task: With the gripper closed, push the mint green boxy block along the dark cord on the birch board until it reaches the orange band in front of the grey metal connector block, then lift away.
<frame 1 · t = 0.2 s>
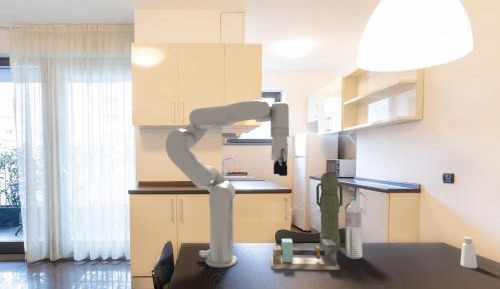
hand: (280, 174, 111), 35 cm above the table, tool pointing down, fingers open, 9 cm apart
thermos: (329, 249, 126), on the table
water bottle: (353, 257, 116), on the table
salt shaker: (468, 266, 107), on the table
mint green boxy block: (287, 250, 108), point 6 cm above the table, slide at 0.0 cm
cord board: (303, 264, 108), on the table
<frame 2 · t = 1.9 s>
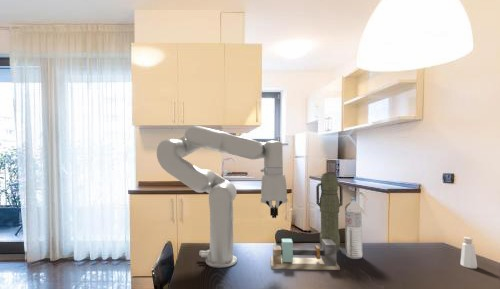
hand: (274, 217, 109), 18 cm above the table, tool pointing down, fingers closed
nothing on the table moved.
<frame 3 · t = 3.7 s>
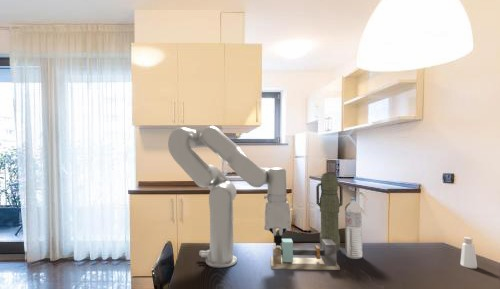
hand: (277, 244, 108), 8 cm above the table, tool pointing down, fingers closed
mint green boxy block: (287, 250, 108), point 6 cm above the table, slide at 0.1 cm, touching gripper
everything else where it was.
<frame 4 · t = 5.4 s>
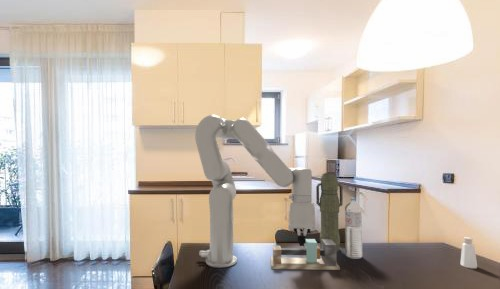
hand: (301, 244, 108), 8 cm above the table, tool pointing down, fingers closed
mint green boxy block: (310, 250, 108), point 6 cm above the table, slide at 9.4 cm, touching cord board, gripper
everything else where it was.
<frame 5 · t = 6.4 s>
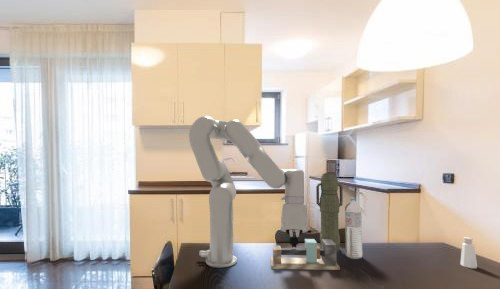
hand: (293, 246, 108), 7 cm above the table, tool pointing down, fingers closed
mint green boxy block: (310, 250, 108), point 6 cm above the table, slide at 9.3 cm
everything else where it was.
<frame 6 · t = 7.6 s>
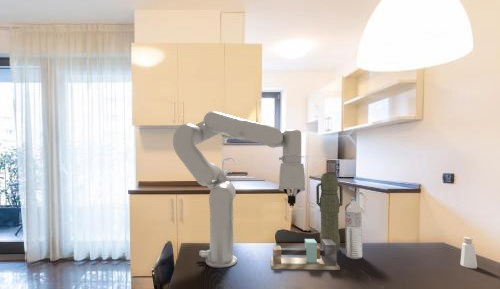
hand: (291, 205, 110), 23 cm above the table, tool pointing down, fingers closed
nothing on the table moved.
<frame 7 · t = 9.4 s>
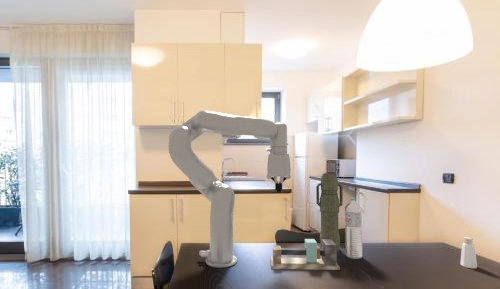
hand: (278, 191, 121), 27 cm above the table, tool pointing down, fingers closed
nothing on the table moved.
at the end: mint green boxy block slide at 9.3 cm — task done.
